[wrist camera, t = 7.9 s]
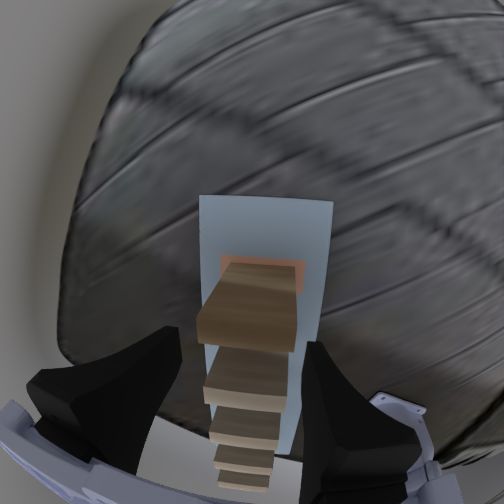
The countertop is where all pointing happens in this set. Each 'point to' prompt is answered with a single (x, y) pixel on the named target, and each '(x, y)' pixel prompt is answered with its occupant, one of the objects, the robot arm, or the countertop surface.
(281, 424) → the mat
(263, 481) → the domino
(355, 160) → the countertop surface
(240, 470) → the domino
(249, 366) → the domino
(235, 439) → the domino
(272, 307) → the domino
